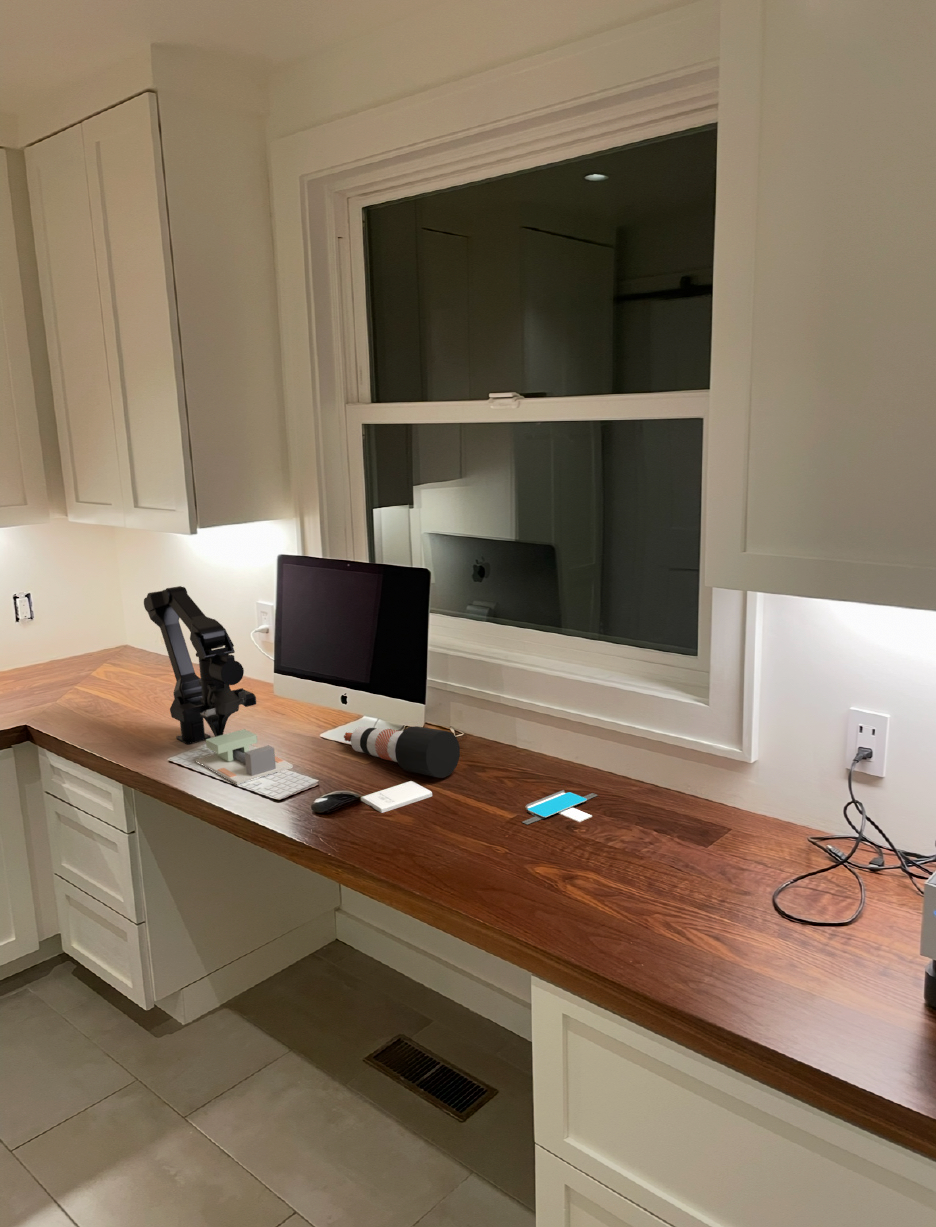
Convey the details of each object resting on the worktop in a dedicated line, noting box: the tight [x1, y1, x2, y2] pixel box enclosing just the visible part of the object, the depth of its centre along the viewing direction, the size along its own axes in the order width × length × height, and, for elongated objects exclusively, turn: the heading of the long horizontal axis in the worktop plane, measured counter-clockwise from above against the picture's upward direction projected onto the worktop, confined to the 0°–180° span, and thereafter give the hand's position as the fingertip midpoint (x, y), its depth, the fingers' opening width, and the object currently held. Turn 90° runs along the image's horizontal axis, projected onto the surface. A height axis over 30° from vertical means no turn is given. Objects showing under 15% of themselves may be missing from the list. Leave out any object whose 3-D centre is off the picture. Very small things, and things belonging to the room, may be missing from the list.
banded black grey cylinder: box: [343, 725, 461, 779], centre depth 213 cm, size 10×34×10 cm, turn 46°
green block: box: [205, 728, 258, 761], centre depth 218 cm, size 6×10×4 cm, turn 132°
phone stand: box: [522, 789, 598, 825], centre depth 184 cm, size 20×12×2 cm, turn 130°
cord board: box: [195, 744, 293, 785], centre depth 214 cm, size 20×14×6 cm
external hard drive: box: [360, 780, 433, 814], centre depth 193 cm, size 2×8×12 cm
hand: (219, 739), depth 222 cm, fingers closed
